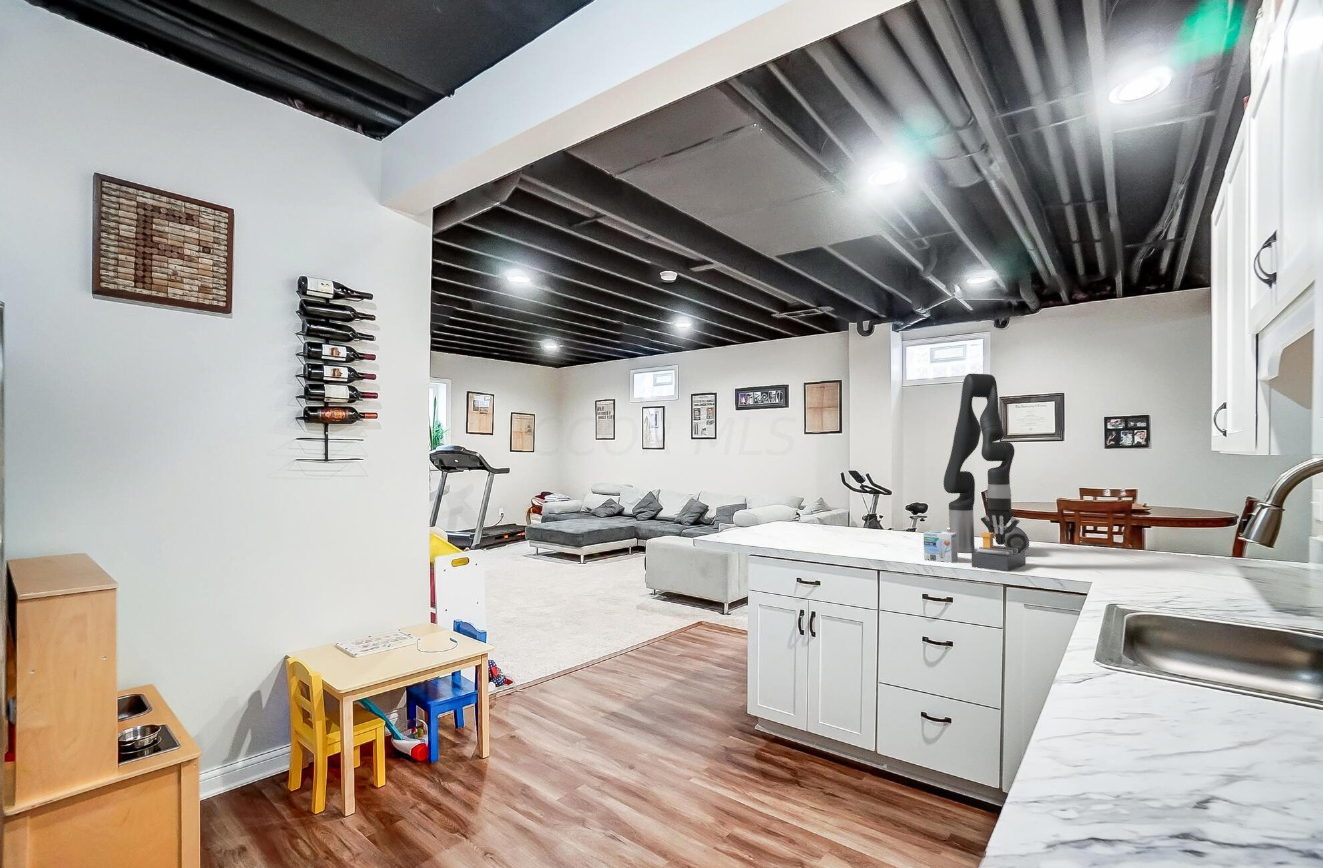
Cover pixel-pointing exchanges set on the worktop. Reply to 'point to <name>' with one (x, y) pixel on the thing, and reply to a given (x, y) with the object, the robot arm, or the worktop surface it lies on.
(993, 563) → the breaker box
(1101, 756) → the worktop surface
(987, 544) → the breaker handle
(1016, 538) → the bluetooth speaker
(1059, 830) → the worktop surface
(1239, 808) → the worktop surface
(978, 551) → the dressed cables
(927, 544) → the light bulb box
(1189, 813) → the worktop surface
